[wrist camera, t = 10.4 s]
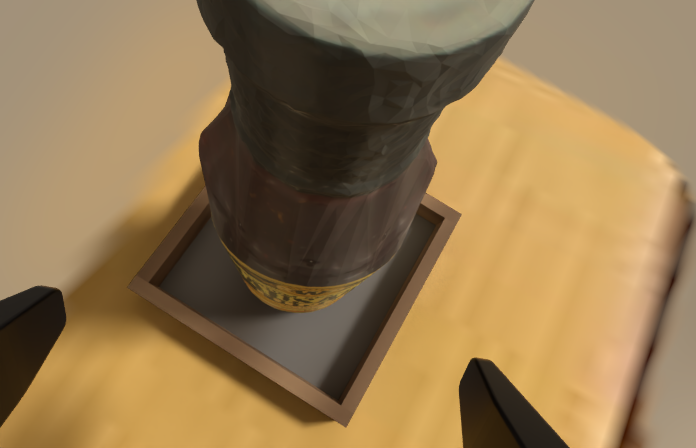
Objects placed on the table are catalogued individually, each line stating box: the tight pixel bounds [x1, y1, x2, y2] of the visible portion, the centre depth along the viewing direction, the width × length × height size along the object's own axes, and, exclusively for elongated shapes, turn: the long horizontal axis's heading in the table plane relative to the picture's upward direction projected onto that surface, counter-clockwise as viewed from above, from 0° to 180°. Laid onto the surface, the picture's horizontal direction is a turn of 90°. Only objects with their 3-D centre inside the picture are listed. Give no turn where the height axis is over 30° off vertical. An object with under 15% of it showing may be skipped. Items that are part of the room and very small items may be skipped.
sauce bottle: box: [197, 0, 534, 313], centre depth 14 cm, size 6×6×20 cm
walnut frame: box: [127, 186, 462, 427], centre depth 23 cm, size 12×12×2 cm
